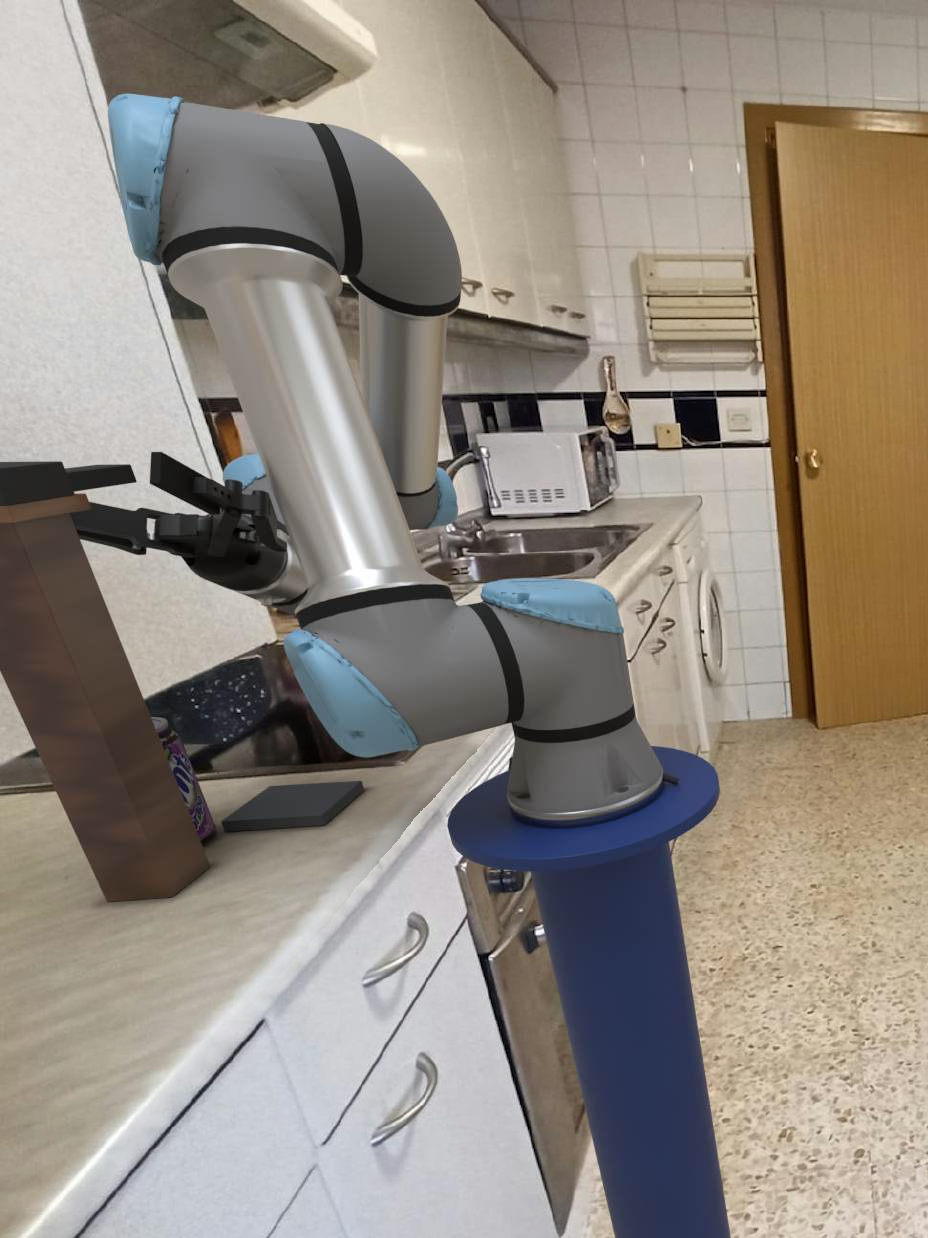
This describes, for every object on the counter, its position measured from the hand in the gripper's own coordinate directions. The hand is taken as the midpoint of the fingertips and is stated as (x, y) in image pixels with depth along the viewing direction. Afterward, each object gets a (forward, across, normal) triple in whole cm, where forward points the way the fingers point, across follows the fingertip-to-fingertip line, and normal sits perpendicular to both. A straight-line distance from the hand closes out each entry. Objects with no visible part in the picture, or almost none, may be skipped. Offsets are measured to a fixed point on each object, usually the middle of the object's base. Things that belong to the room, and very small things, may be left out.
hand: (59, 468), depth 68 cm
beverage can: (-18, +4, -30) cm, 35 cm away
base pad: (-23, -4, -26) cm, 36 cm away
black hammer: (+1, 0, -2) cm, 3 cm away
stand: (-12, 0, -33) cm, 35 cm away
